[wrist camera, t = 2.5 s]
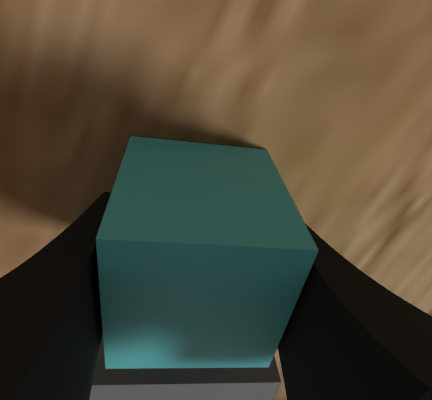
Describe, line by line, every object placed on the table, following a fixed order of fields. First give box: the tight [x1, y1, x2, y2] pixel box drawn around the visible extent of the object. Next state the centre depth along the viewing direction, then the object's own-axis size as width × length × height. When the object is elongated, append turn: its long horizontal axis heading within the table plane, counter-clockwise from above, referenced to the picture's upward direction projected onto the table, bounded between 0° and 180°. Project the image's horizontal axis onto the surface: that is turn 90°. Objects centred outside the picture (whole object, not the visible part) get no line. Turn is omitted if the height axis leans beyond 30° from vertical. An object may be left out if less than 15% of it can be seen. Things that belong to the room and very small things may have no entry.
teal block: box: [96, 136, 319, 369], centre depth 10 cm, size 4×4×5 cm
